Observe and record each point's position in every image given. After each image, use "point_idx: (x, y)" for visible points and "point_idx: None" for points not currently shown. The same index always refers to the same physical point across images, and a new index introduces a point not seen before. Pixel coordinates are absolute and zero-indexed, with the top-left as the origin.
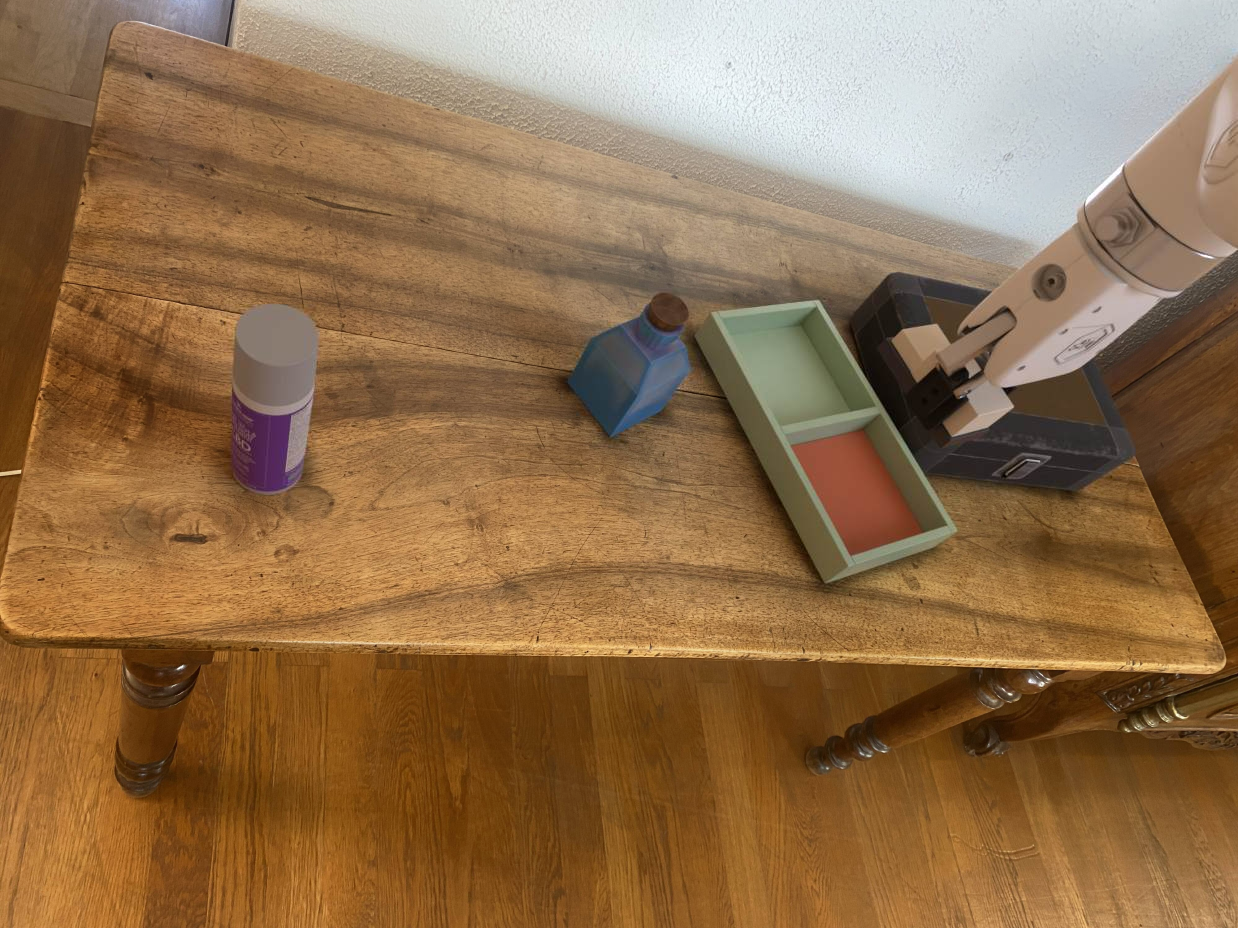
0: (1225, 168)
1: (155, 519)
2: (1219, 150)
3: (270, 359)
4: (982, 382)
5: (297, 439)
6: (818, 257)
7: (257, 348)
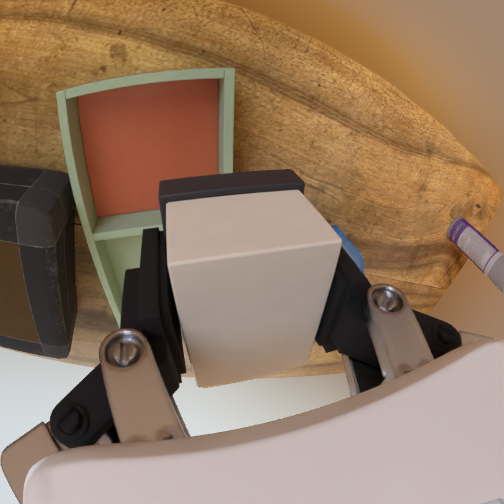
0: None
1: (479, 214)
2: None
3: None
4: (393, 339)
5: (481, 240)
6: (90, 349)
7: None
